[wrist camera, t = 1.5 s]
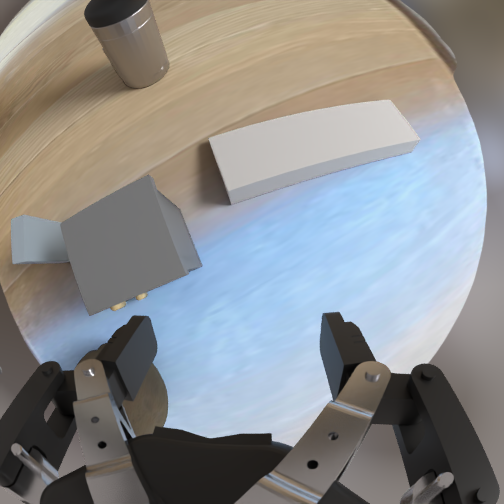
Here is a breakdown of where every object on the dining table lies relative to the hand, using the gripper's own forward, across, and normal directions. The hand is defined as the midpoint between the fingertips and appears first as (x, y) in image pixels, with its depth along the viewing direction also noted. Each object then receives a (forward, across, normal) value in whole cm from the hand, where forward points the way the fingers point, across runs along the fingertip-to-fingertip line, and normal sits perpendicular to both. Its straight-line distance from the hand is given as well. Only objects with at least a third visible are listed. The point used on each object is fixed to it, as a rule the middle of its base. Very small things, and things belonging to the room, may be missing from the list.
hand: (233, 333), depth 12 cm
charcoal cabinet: (+25, +16, +5) cm, 31 cm away
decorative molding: (+34, -12, -10) cm, 38 cm away
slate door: (+25, +31, +2) cm, 40 cm away
